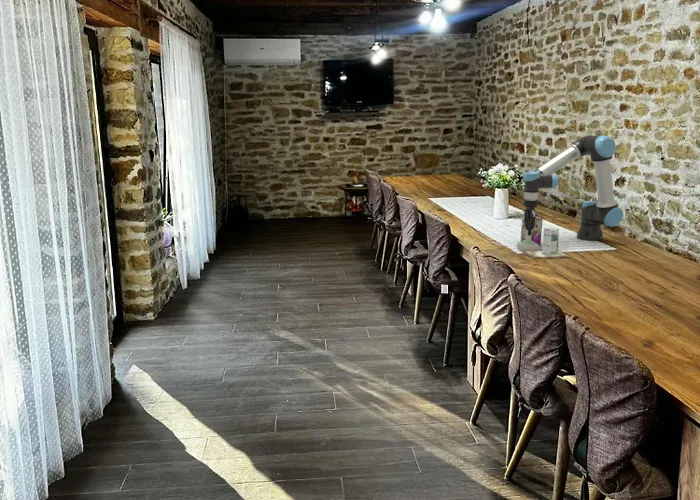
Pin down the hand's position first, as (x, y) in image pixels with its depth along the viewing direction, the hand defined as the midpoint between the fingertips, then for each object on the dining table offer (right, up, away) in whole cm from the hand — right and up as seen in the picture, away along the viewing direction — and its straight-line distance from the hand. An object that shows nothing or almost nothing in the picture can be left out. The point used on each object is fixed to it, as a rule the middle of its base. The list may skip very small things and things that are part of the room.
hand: (528, 240), depth 346 cm
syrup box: (+8, -8, -11) cm, 16 cm away
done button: (0, -4, +1) cm, 4 cm away
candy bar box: (+6, -2, +15) cm, 16 cm away
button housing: (0, -5, +1) cm, 6 cm away
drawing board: (+7, -8, -11) cm, 15 cm away
